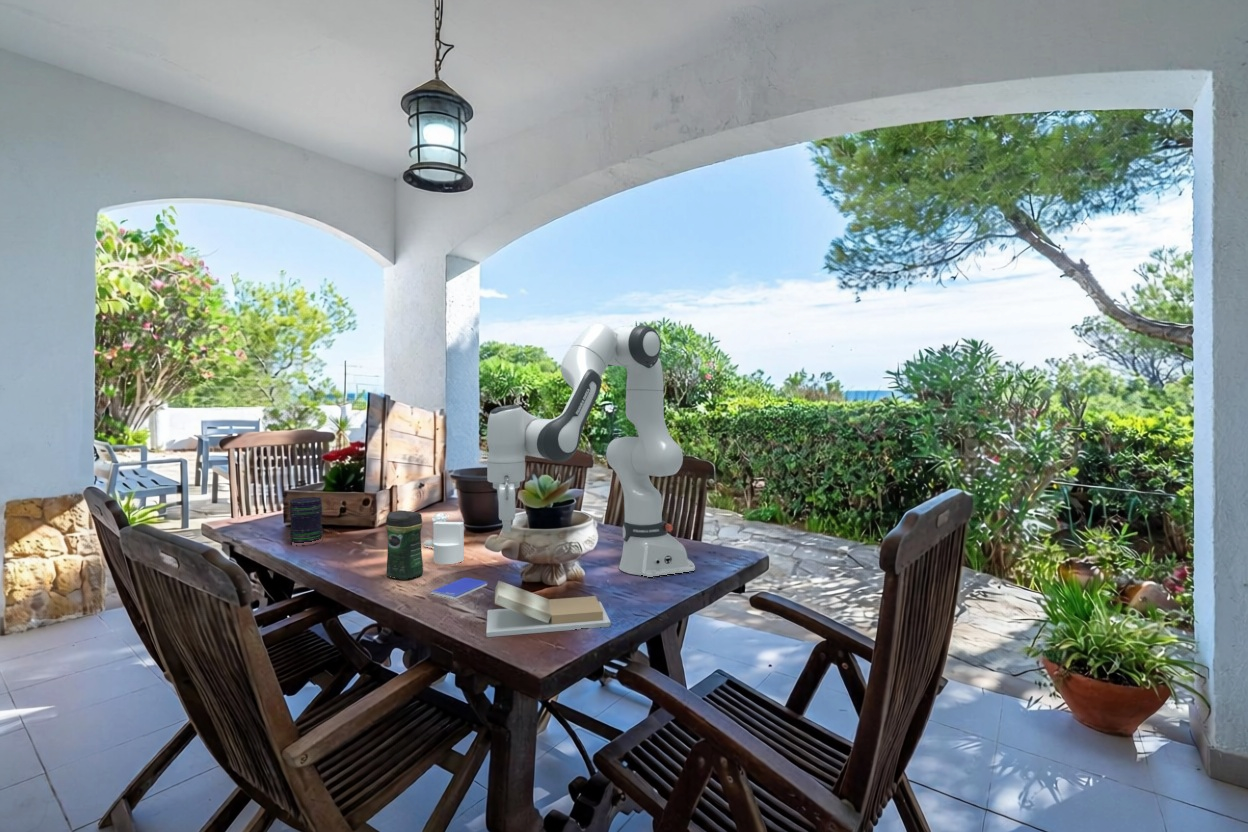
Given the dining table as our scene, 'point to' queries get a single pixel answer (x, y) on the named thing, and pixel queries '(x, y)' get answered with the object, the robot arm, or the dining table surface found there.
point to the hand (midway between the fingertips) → (506, 530)
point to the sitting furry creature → (437, 518)
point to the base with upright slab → (448, 542)
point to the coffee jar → (404, 544)
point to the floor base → (531, 624)
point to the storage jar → (306, 519)
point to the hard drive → (459, 588)
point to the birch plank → (522, 601)
